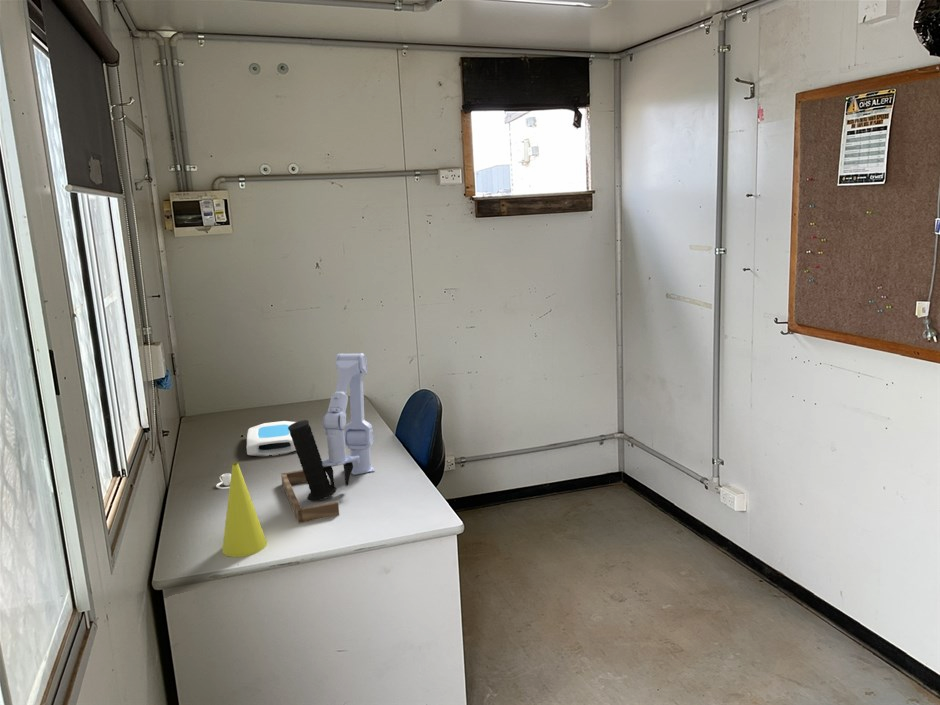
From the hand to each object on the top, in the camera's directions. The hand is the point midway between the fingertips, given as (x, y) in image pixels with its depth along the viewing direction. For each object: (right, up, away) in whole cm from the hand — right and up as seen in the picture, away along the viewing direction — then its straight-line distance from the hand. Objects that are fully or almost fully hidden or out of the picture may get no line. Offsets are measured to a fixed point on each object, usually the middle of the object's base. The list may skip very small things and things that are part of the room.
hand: (339, 485), depth 241 cm
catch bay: (-10, -4, -3) cm, 11 cm away
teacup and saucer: (-41, -3, +11) cm, 43 cm away
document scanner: (-37, +6, +56) cm, 67 cm away
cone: (-21, -11, -36) cm, 43 cm away
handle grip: (-6, -2, -2) cm, 6 cm away
